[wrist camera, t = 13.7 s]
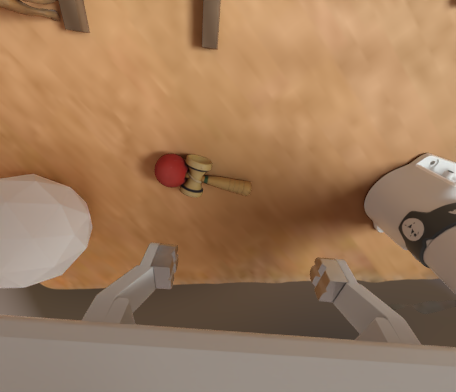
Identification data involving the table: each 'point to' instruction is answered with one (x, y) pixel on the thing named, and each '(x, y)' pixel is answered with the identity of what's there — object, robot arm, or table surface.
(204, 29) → the stop channel
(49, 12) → the lion figurine
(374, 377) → the robot arm
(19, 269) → the geometric polyhedron
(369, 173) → the table surface
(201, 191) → the kendama
